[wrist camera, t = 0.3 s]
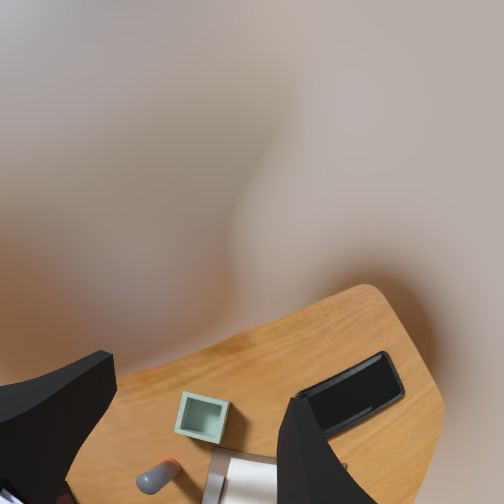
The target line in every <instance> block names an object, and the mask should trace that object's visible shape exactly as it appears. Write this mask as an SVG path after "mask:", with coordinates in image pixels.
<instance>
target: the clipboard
mask: <svg viewBox="0 0 504 504" xmlns="http://www.w3.org/2000/svg"><path fill="white" fill-rule="evenodd" d="M341 464H342V465H343V467H344V468H345V469H346V465H347V464H346V463H341ZM201 504H277V458H274V457H267V456H261V455H255V454H249V453H244V452H239V451H234V450H229V449H224V448H220V447H216V446H214V449H213V453H212V458H211V462H210V466H209V471H208V475H207V479H206V483H205V488H204V492H203V496H202V501H201Z"/></svg>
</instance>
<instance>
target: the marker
mask: <svg viewBox="0 0 504 504" xmlns="http://www.w3.org/2000/svg"><path fill="white" fill-rule="evenodd" d="M180 470H181V467H180V464H179V463H178V462H177V461H175V460H173V459H167V460H165V461H163V462H162V463H160V464H159V465H157V466H155V467H154V468H152V469H150V470H148V471H147V472H145V473H143V474H141V475H140V476H138V478H137V480H136V484H137V487H138V488H139V490H140V491H141V492H143V493H145V494H148V495H153V494H156V493H157V492H158V491H159V490H160V489H162V488H163V487H164V486H165V485H166V484H167V483H169V482H170V481H171V480H172V479H173V478H174V477H175V476H176V475H178V474H179V473H180Z"/></svg>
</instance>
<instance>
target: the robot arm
mask: <svg viewBox="0 0 504 504" xmlns="http://www.w3.org/2000/svg"><path fill="white" fill-rule="evenodd" d="M116 391H117V385H116V377H115V369H114V360H113V354H111V353H108V352H105V351H102V350H99V351H97V352H95V353H92V354H90V355H88V356H86V357H84V358H82V359H80V360H78V361H76V362H73V363H72V364H69V365H67V366H65V367H63V368H60V369H58V370H55V371H53V372H51V373H48V374H45V375H43V376H40V377H37V378H34V379H31V380H28V381H24V382H20V383H15V384H10V385H4V386H0V504H23V503H25V504H56V503H57V500H58V497H59V494H60V491H61V488H62V486H63V483H64V480H65V478H66V476H67V474H68V471H69V469H70V467H71V465H72V463H73V461H74V459H75V457H76V455H77V453H78V451H79V449H80V447H81V446H82V444H83V443H84V441H85V440H86V438H87V437H88V436H89V434H90V433H91V431H92V430H93V429H94V427H95V426H96V424H97V423H98V422H99V420H100V419H101V417H102V416H103V415H104V413H105V412H106V410H107V409H108V407H109V405H110V403H111V402H112V400H113V398H114V396H115V393H116ZM22 502H23V503H22ZM277 504H378V503H376V502H375V501H374V500H373V499H372V498H371V497H370V496H369V495H368V494H367V493H366V492H365V491H364V490H363V489H362V488H361V487H360V486H359V485H358V484H357V483H356V482H355V480H354V479H353V478H352V477H351V476H350V474H349V473H348V472H347V471H346V469H345V468H344V467H343V465H342V464H341V462H340V461H339V460H338V458H337V456H336V455H335V453H334V452H333V450H332V449H331V447H330V445H329V444H328V442H327V440H326V438H325V436H324V434H323V433H322V431H321V429H320V427H319V425H318V423H317V420H316V418H315V416H314V414H313V412H312V409H311V407H310V404H309V402H308V401H307V399H300V398H292V397H291V398H290V401H289V404H288V407H287V410H286V413H285V416H284V418H283V421H282V424H281V427H280V429H279V435H278V444H277Z"/></svg>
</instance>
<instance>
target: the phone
mask: <svg viewBox="0 0 504 504" xmlns="http://www.w3.org/2000/svg"><path fill="white" fill-rule="evenodd" d="M403 393H404V387H403V384H402V382H401V380H400V378H399V375H398V373H397V371H396V369H395V367H394V364H393V362H392V360H391V358H390V356H389V354H388V353H387V352H385V351H381V352H378V353H376V354H375V355H373V356H371V357H369V358H367V359H366V360H364V361H362V362H360V363H358V364H356V365H354V366H352V367H350V368H348V369H347V370H345V371H343V372H341V373H339V374H337V375H335V376H332V377H330V378H328V379H326V380H324V381H322V382H320V383H318V384H316V385H313V386H311V387H309V388H307V389H304V390H302V391H300V392H298V393H297V394H296V395H295V398H300V399H307V401H308V402H309V404H310V407H311V409H312V412H313V414H314V416H315V418H316V420H317V423H318V425H319V427H320V429H321V431H322V433H323V434H324V436H325V438H326V439H327V438H329V437H331V436H333V435H335V434H337V433H339V432H341V431H343V430H345V429H347V428H349V427H351V426H352V425H354V424H356V423H358V422H360V421H362V420H363V419H365V418H367V417H369V416H371V415H372V414H374V413H376V412H377V411H379V410H381V409H382V408H384V407H386V406H387V405H389V404H390V403H392V402H394V401H395V400H397V399H398V398H400V397H401V396H402V395H403Z"/></svg>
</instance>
